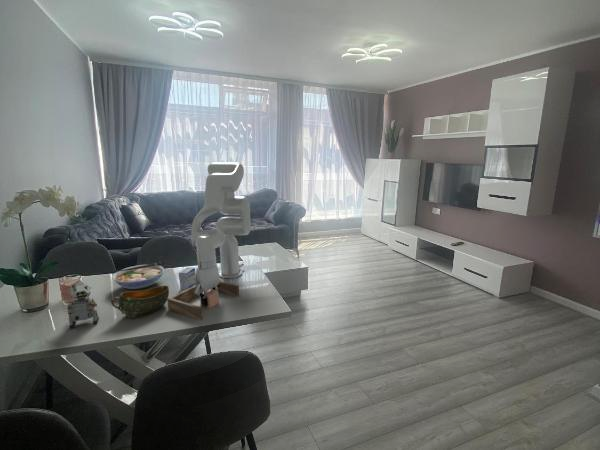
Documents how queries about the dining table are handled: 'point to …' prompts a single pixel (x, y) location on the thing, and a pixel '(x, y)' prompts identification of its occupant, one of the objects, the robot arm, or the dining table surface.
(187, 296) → the wooden open frame
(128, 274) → the ramen bowl
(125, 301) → the cup
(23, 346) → the dining table surface
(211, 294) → the terracotta block
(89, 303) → the figurine
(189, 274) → the medicine box
